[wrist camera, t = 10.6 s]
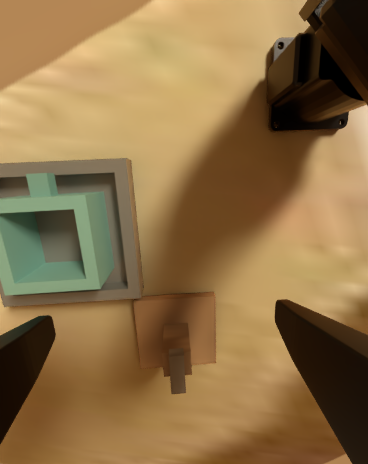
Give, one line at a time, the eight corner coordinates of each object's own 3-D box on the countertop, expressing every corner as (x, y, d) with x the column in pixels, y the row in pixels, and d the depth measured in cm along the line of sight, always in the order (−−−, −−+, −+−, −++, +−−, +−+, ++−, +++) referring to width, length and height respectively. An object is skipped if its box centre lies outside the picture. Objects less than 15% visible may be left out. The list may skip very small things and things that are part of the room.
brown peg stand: (213, 291, 22) (226, 326, 17) (214, 357, 24) (225, 406, 19) (134, 296, 22) (122, 334, 16) (141, 362, 24) (133, 413, 18)
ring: (114, 267, 20) (100, 289, 16) (37, 272, 20) (4, 295, 16) (100, 171, 18) (81, 170, 14) (15, 176, 18) (-29, 175, 14)
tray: (130, 160, 18) (125, 158, 16) (143, 287, 21) (140, 298, 19) (-14, 166, 18) (-36, 165, 16) (19, 295, 21) (4, 307, 19)
